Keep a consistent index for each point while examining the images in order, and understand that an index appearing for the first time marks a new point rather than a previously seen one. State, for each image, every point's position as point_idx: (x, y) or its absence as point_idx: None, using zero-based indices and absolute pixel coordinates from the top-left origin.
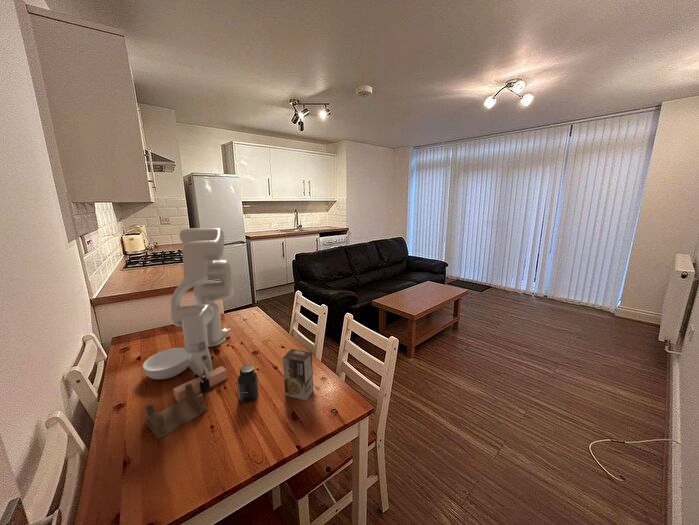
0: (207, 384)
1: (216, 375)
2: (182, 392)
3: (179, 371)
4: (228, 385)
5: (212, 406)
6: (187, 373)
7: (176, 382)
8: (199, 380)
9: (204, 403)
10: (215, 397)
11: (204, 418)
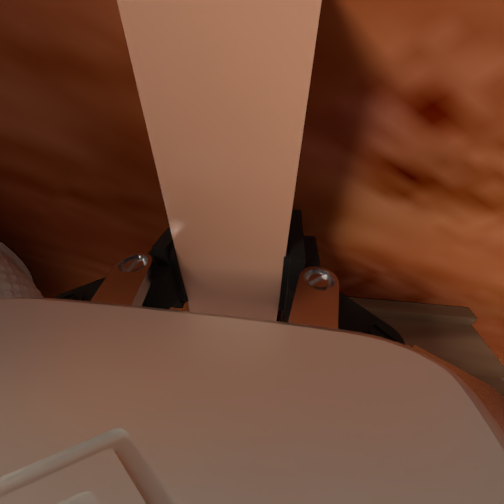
0: (315, 254)
1: (298, 148)
2: None
3: (15, 294)
4: (447, 59)
5: (478, 283)
6: (12, 210)
7: (92, 278)
8: (246, 299)
9: (501, 368)
10: (433, 234)
11: (492, 335)
